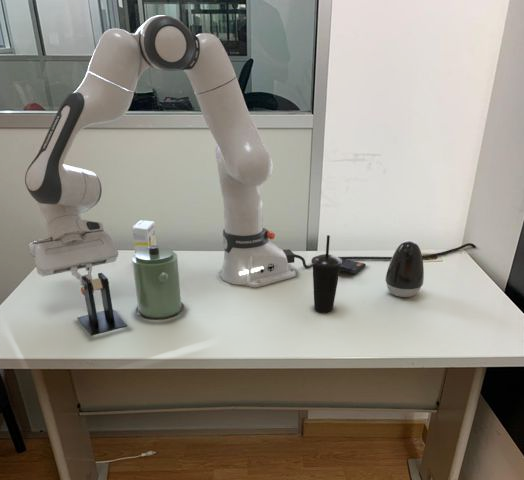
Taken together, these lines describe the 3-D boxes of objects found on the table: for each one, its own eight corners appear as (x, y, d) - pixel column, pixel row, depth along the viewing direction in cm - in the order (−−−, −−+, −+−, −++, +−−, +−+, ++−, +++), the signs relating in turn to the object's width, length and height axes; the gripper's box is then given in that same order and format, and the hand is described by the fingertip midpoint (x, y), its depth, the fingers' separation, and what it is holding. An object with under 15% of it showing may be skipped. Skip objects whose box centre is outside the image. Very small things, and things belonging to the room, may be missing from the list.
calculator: (365, 266, 165) (366, 257, 164) (349, 278, 157) (350, 269, 155) (338, 260, 169) (338, 251, 168) (321, 272, 161) (322, 262, 159)
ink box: (151, 265, 166) (146, 228, 160) (135, 265, 166) (131, 228, 160) (158, 255, 173) (154, 220, 167) (143, 255, 174) (139, 219, 168)
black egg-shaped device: (379, 297, 146) (386, 244, 138) (388, 283, 154) (395, 232, 146) (416, 304, 142) (425, 250, 134) (424, 289, 150) (433, 238, 143)
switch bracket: (78, 321, 134) (68, 274, 127) (112, 312, 138) (105, 266, 131) (91, 339, 126) (82, 290, 119) (128, 329, 130) (121, 281, 123)
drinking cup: (340, 305, 142) (346, 232, 132) (334, 317, 136) (340, 242, 125) (313, 301, 144) (317, 229, 134) (305, 313, 138) (309, 238, 127)
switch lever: (82, 298, 136) (78, 286, 135) (94, 295, 137) (90, 283, 137) (92, 292, 124) (88, 278, 124) (105, 288, 126) (101, 275, 126)
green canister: (130, 303, 142) (121, 239, 133) (175, 296, 147) (169, 233, 137) (144, 332, 129) (135, 263, 119) (193, 323, 133) (189, 256, 124)
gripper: (25, 235, 128) (44, 286, 126) (108, 221, 137) (127, 268, 135) (26, 247, 133) (43, 297, 131) (105, 233, 143) (123, 279, 141)
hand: (86, 282), depth 133 cm, fingers closed, pressing on switch lever
